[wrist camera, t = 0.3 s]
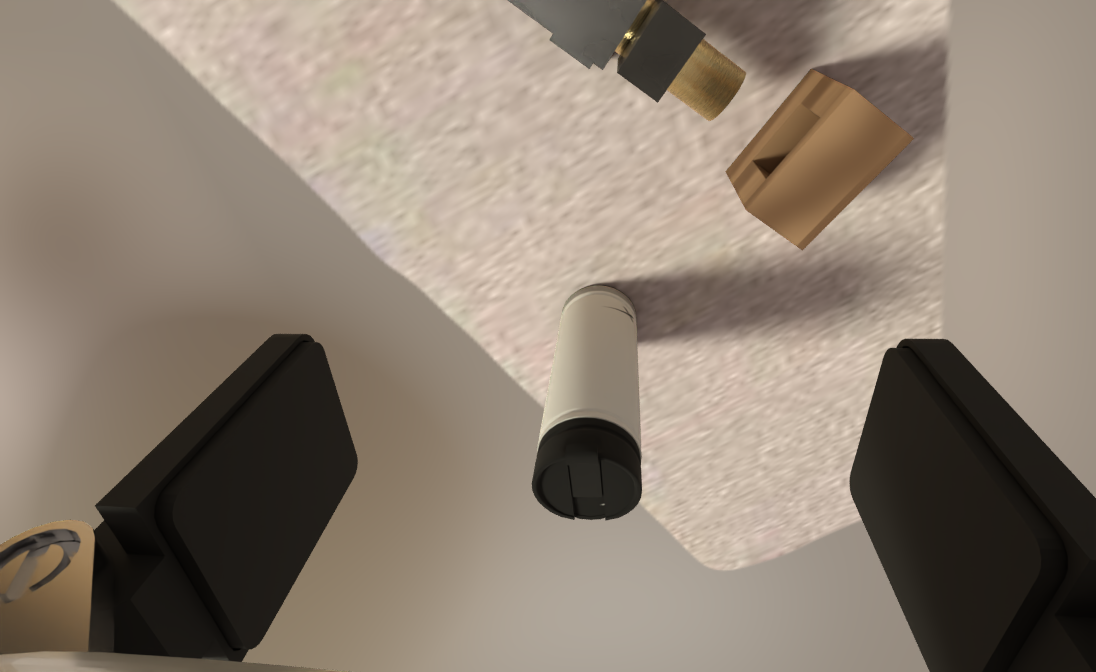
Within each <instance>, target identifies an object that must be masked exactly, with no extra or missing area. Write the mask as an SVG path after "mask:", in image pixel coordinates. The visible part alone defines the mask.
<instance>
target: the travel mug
mask: <svg viewBox="0 0 1096 672" xmlns="http://www.w3.org/2000/svg"><path fill="white" fill-rule="evenodd" d="M636 325H637V324H636V312H635V309H634V306H633V304H632V303H631V301H630V300H629V299H628V298H627V297H626V296H625V295H624V294H623V293H622V292H620V291H618V290H616V289H614V288H612V287H607V286H598V285H596V286H589V287H586V288H582V289H580V290H579V291H577V292H575V293H574V294H573V295H572V296H570V298H569V299H568V300H567V301H566V303H565V305H564V307H563V311H562V316H561V322H560V327H559V332H558V337H557V343H556V348H555V354H554V359H553V365H552V370H551V376H550V381H549V387H548V392H547V398H546V403H545V409H544V414H543V419H542V425H541V430H540V436H539V442H538V447H537V459H536V463H535V469H534V475H533V480H532V490H533V493H534V495H535V497H536V498H537V500H538V502H539V503H540V504H542V506H543V507H545V508H546V509H548V510H549V511H550V512H552V513H554V514H556V515H558V516H560V517H565V518H569V519H573V520H574V519H575V517H577V518H579V519H590V520H593V519H602V518H605V519H606V520H610V519H615V518H619V517H621V516H623V515H625V514H627V513H629V512H630V511H631V510H632V509H634V508H635V506H636V505H637V504H638V503H639V501H640V498H641V494H642V479H641V458H642V453H641V428H640V402H639V376H638V350H637V327H636Z"/></svg>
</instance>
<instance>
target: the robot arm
mask: <svg viewBox="0 0 1096 672" xmlns="http://www.w3.org/2000/svg"><path fill="white" fill-rule="evenodd" d="M357 462H358V460H357V454H356V451H355V448H354V444H353V441H352V438H351V435H350V431H349V428H348V425H347V422H346V419H345V416H344V412H343V409H342V406H341V403H340V399H339V396H338V393H337V390H336V386H335V383H334V380H333V377H332V374H331V370H330V367H329V364H328V361H327V358H326V355H325V351H324V349H323V347H322V345H321V344H320V343H317V342H315V341H314V339H313V338H312V337H311V336H310V335H307V334H274V335H272V336H271V337H270V338H269V339H268V340H267V341H265V342H264V344H262V345H261V346H260V347H259V348H258V349H257V350H256V351H255V352H254V353H253V354H252V355H251V356H250V357H249V358H248V359H247V360H246V361H245V362H244V363H243V364H242V365H241V366H239V367H238V368H237V370H235V371H234V372H233V373H232V374H231V375H230V376H229V377H228V378H227V379H226V380H225V381H224V382H223V383H222V384H221V385H220V386H219V387H218V388H217V389H216V390H215V391H213V392H212V394H210V395H209V396H208V397H207V398H206V399H205V400H204V401H203V402H202V403H201V404H200V405H199V406H198V407H197V408H196V409H195V410H194V411H193V412H192V413H191V414H190V415H189V416H188V417H187V418H185V419H184V420H183V421H182V422H181V423H180V424H179V425H178V426H177V427H176V428H175V429H174V430H173V431H172V432H171V433H170V434H169V435H168V436H167V437H166V438H165V439H164V440H163V441H162V442H161V443H159V444H158V445H157V447H155V448H154V449H153V450H152V451H151V452H150V453H149V454H148V455H147V456H146V457H145V458H144V459H143V460H142V461H141V462H140V463H139V464H138V465H137V466H136V467H135V468H134V469H133V470H132V471H130V472H129V473H128V475H126V476H125V477H124V478H123V479H122V480H121V481H120V482H119V483H118V484H117V485H116V486H115V487H114V488H113V489H112V490H111V491H110V492H109V493H108V494H107V495H105V497H103V498H102V499H101V500H100V501H99V502H98V503H97V504H96V505H95V506H96V508H97V510H98V511H99V513H100V514H101V515H102V517H103V519H104V521H103V522H102V523H101V524H100V525H99V526H98V527H97V528H96V529H95V530H94V529H93V528H92V527H91V526H89V525H88V524H87V523H85V522H84V521H77V520H63V521H55V522H50V523H47V524H44V525H41V526H37V527H34V528H32V529H30V530H27V531H25V532H23V533H21V534H19V535H16V536H14V537H12V538H11V539H9V540H7V541H6V542H4V543H2V544H1V545H0V672H350V671H338V670H326V669H315V668H304V667H292V666H281V665H269V664H257V663H245V662H242V660H243V658H244V657H245V655H246V653H247V652H248V650H249V649H253V648H255V647H256V646H257V645H258V644H259V643H260V642H261V640H262V639H263V637H264V636H265V634H266V632H267V630H268V629H269V627H270V625H271V623H272V621H273V620H274V618H275V616H276V614H277V613H278V611H279V609H280V607H281V606H282V604H283V602H284V600H285V598H286V597H287V595H288V593H289V591H290V590H291V588H292V586H293V584H294V582H295V581H296V579H297V577H298V575H299V573H300V572H301V570H302V568H303V567H304V565H305V563H306V561H307V560H308V558H309V556H310V554H311V552H312V551H313V549H314V547H315V545H316V543H317V542H318V540H319V538H320V536H321V535H322V533H323V531H324V529H325V527H326V526H327V524H328V522H329V520H330V519H331V517H332V515H333V513H334V512H335V510H336V508H337V506H338V504H339V503H340V501H341V499H342V498H343V496H344V494H345V492H346V490H347V489H348V487H349V485H350V483H351V482H352V480H353V478H354V476H355V474H356V470H357V464H358V463H357ZM850 491H851V495H852V498H853V500H854V503H855V505H856V507H857V509H858V512H859V514H860V516H861V518H862V521H863V523H864V525H865V527H866V530H867V532H868V534H869V536H870V539H871V541H872V543H873V545H874V548H875V550H876V552H877V554H878V556H879V559H880V561H881V563H882V566H883V568H884V570H885V572H886V574H887V577H888V579H889V581H890V584H891V586H892V588H893V590H894V592H895V595H896V597H897V599H898V602H899V604H900V606H901V608H902V611H903V613H904V615H905V617H906V620H907V622H908V624H909V626H910V629H911V631H912V633H913V635H914V638H915V640H916V642H917V644H918V646H919V649H920V651H921V653H922V656H923V658H924V660H925V662H926V664H927V667H928V669H929V671H930V672H1096V498H1095V497H1094V496H1093V495H1092V494H1091V493H1090V492H1089V490H1087V488H1086V487H1085V486H1084V485H1083V484H1082V483H1081V482H1080V481H1079V480H1078V479H1077V478H1076V476H1075V475H1074V474H1073V473H1072V472H1071V471H1070V470H1069V469H1068V468H1067V467H1066V466H1065V465H1064V464H1063V463H1062V461H1060V459H1059V458H1058V457H1057V456H1056V455H1055V454H1054V453H1053V452H1052V451H1051V449H1050V448H1049V447H1048V446H1047V445H1046V444H1045V443H1044V442H1043V441H1042V440H1041V439H1040V438H1039V437H1038V435H1037V434H1036V433H1035V432H1034V431H1033V430H1032V429H1031V428H1030V427H1029V426H1028V425H1027V424H1026V423H1025V422H1024V420H1023V419H1022V418H1021V417H1020V416H1019V415H1018V414H1017V413H1016V412H1015V411H1014V410H1013V408H1012V407H1011V406H1010V405H1009V404H1008V403H1007V402H1006V401H1005V400H1004V399H1003V398H1002V397H1001V395H1000V394H998V392H997V391H996V390H995V389H994V388H993V387H992V386H991V385H990V384H989V382H987V380H986V379H985V378H984V377H983V376H982V375H981V374H980V373H979V372H978V371H977V370H976V368H975V367H974V366H973V365H972V364H971V363H970V362H969V361H968V360H967V359H966V358H965V357H964V355H963V354H962V353H961V352H960V351H959V350H958V349H957V348H956V347H955V346H954V345H953V344H952V343H951V342H950V341H948V340H946V339H904V340H902V341H901V342H900V343H899V344H898V346H897V348H890V349H888V350H887V351H886V353H885V355H884V358H883V361H882V365H881V368H880V372H879V375H878V379H877V382H876V386H875V389H874V393H873V396H872V400H871V403H870V407H869V410H868V414H867V417H866V421H865V424H864V428H863V431H862V435H861V438H860V442H859V445H858V449H857V453H856V456H855V460H854V463H853V467H852V470H851V474H850Z"/></svg>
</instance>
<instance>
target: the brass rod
mask: <svg viewBox="0 0 1096 672" xmlns="http://www.w3.org/2000/svg"><path fill="white" fill-rule="evenodd" d="M705 35H706V34H705V33H704V32H702V31H701V30H700V29H698V28H697V27H696V26H695V25H693V24H692V23H691V22H690V21H688V20H687V19H686V18H684V17H683V16H682V15H681V14H679V13H678V12H677V11H676V10H674V9H673V8H672V7H670V6H669V5H668V4H667V3H665V2H664V1H662V0H655V1H654V0H647V1H646V2H645V4H644V6H643V7H642V9H641V10H640V12H639V14H638V15H637V17H636V18H635V20H634V21H633V23H632V25H631V26H630V28H629V29H628V31H627V32H626V34H625V36H624V37H623V39H622V40H621V42H620V44H619V45H618V47H617V48H616V50H615V52H617V53H618V54H619V55H620V56H619V58H618V68H617V73H618V74H620V75H621V76H622V77H624V78H625V79H627V80H628V81H629V82H631V83H632V84H633V85H635V86H636V87H637V88H639V89H640V90H641V91H643V92H644V93H646V94H647V95H648V96H650V97H651V98H652V99H654V100H655V101H656V102H659V100H660V99H661V97H662V96H663V94H664V93H665V92H666V90H668V91H669V92H670V93H672V94H673V95H674V96H676V97H677V98H678V99H680V100H681V101H682V102H684V103H685V104H686V105H688V106H689V107H690V108H692V109H693V110H694V111H696V112H697V113H698V114H700V115H701V116H702V117H704V118H705V119H706V120H708V121H711V120H713V119H714V118H716V117H717V116H718V115H719V114H720V113H721V112H722V111H723V110H724V109H725V108H726V106H727V105H728V104H729V103H730V101H731V100H732V99H733V97H734V96H735V95H736V93H737V92H738V90H739V89H740V87H741V85H742V83H743V81H744V79H745V76H746V72H745V71H744V70H742V69H741V68H740V67H739V66H737V65H736V64H735V63H733V62H732V61H731V60H730V59H728V58H727V57H726V56H724V55H723V54H722V53H721V52H719V51H718V50H717V49H715V48H714V47H713V46H712V45H710V44H709V43H708V42H706V41H705V40H704V39H703V38H704V37H705Z"/></svg>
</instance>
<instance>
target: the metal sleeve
mask: <svg viewBox="0 0 1096 672" xmlns="http://www.w3.org/2000/svg"><path fill="white" fill-rule="evenodd" d="M508 1H509V2H511V3H512V4H513V5H515V6H516V7H517V8H519V9H520V10H522V11H523V12H524V13H526V14H527V15H528V16H530V17H531V18H532V19H534V20H535V21H537V22H538V23H539V24H541V25H542V26H543V27H545V28H546V29H547V30H549V31H550V32H552V33H553V35H552V36H551V38H550V41H552V42H553V43H554V44H556V45H557V46H558V47H560V48H561V49H563V50H564V51H565V52H567V53H568V54H569V55H571V56H572V57H573V58H575V59H576V60H578V61H579V62H580V63H582V64H583V65H584V66H586V67H587V68H589V69H590V67H591V66H592V64H593V63H594V64H595V65H597V66H598V67H599V68H601V69H602V70H603V69H604V67H605V66H606V64H607V62H608V61H609V59H610V58H611V56H612V55H613V53H614V51H615V50H616V48H617V47H618V45H619V44H620V42H621V40H622V39H623V37H624V36H625V34H626V32H627V31H628V29H629V28H630V26H631V25H632V23H633V21H634V20H635V18H636V17H637V15H638V14H639V12H640V10H641V9H642V7H643V6H644V4H645V2H646V1H647V0H508Z"/></svg>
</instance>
